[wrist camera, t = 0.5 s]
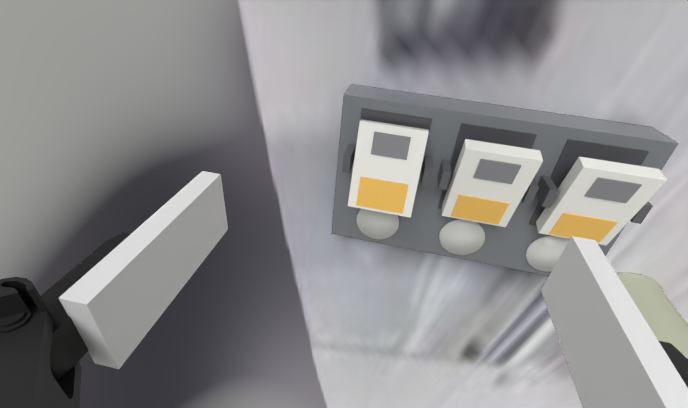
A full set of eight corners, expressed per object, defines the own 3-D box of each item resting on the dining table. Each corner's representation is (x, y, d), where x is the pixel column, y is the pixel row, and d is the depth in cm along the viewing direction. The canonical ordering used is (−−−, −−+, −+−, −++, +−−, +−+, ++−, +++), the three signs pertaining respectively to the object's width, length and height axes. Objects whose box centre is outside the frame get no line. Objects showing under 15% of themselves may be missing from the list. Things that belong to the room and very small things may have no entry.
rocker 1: (361, 119, 32) (359, 120, 31) (427, 129, 31) (428, 131, 30) (349, 201, 35) (347, 206, 33) (410, 212, 34) (410, 218, 33)
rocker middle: (465, 138, 29) (465, 149, 28) (540, 150, 29) (543, 162, 28) (441, 205, 35) (441, 216, 34) (503, 216, 34) (505, 228, 33)
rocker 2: (579, 156, 28) (584, 168, 27) (659, 168, 28) (667, 181, 27) (535, 222, 34) (538, 234, 33) (601, 234, 33) (606, 246, 32)
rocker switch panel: (351, 84, 35) (337, 103, 30) (652, 126, 32) (700, 157, 26) (338, 214, 44) (325, 248, 38) (574, 258, 41) (598, 303, 35)
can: (677, 276, 39) (763, 375, 29) (645, 331, 44) (709, 432, 34) (586, 268, 41) (637, 359, 31) (564, 322, 46) (603, 416, 36)
